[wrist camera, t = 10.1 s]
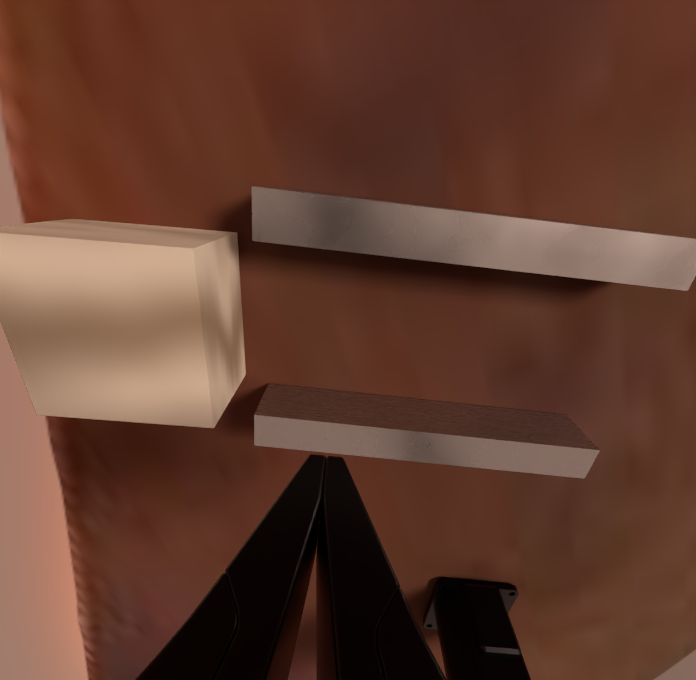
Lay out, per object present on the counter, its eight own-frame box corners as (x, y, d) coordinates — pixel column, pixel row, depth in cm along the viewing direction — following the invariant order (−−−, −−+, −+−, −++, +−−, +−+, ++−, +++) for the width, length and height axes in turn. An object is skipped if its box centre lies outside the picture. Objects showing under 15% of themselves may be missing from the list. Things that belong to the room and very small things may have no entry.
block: (246, 372, 20) (213, 428, 15) (110, 362, 20) (36, 414, 15) (238, 231, 16) (192, 248, 12) (74, 218, 16) (-35, 230, 12)
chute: (554, 440, 21) (584, 478, 18) (268, 411, 20) (254, 445, 18) (651, 232, 16) (714, 241, 13) (270, 186, 15) (251, 186, 12)
